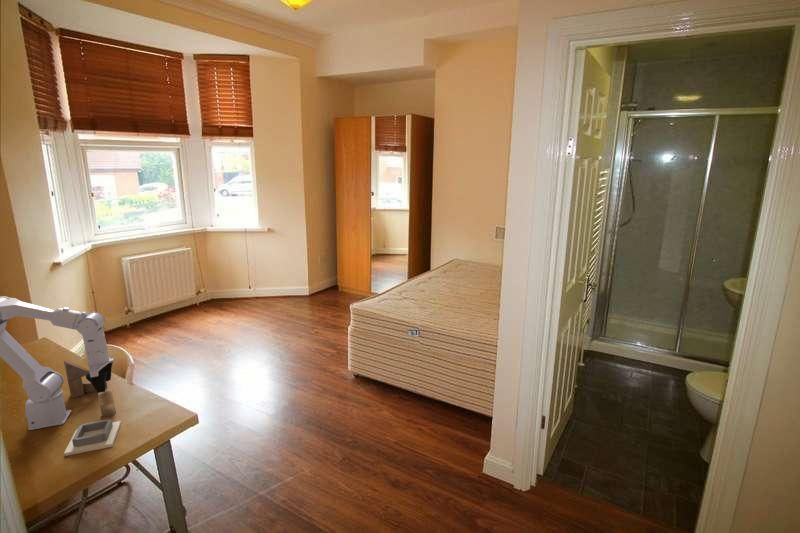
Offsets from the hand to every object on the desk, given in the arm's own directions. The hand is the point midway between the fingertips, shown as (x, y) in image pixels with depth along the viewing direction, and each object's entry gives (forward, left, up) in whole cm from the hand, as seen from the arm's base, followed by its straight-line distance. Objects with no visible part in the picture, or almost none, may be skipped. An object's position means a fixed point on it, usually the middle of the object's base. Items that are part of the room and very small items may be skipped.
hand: (104, 386), depth 141 cm
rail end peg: (0, 0, -11) cm, 11 cm away
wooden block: (-10, +19, -11) cm, 24 cm away
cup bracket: (-1, -14, -11) cm, 18 cm away
